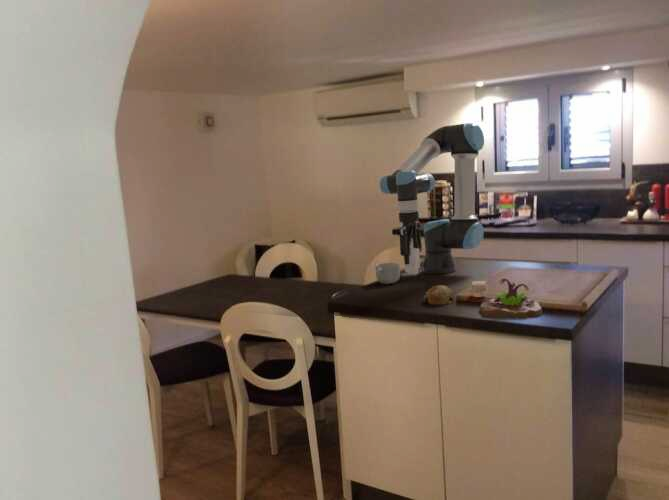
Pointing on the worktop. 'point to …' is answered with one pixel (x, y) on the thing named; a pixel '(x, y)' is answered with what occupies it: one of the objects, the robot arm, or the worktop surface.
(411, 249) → the smoothie
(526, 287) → the plant
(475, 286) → the birch block
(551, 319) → the worktop surface
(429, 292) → the bread roll
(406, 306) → the worktop surface
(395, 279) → the teacup
